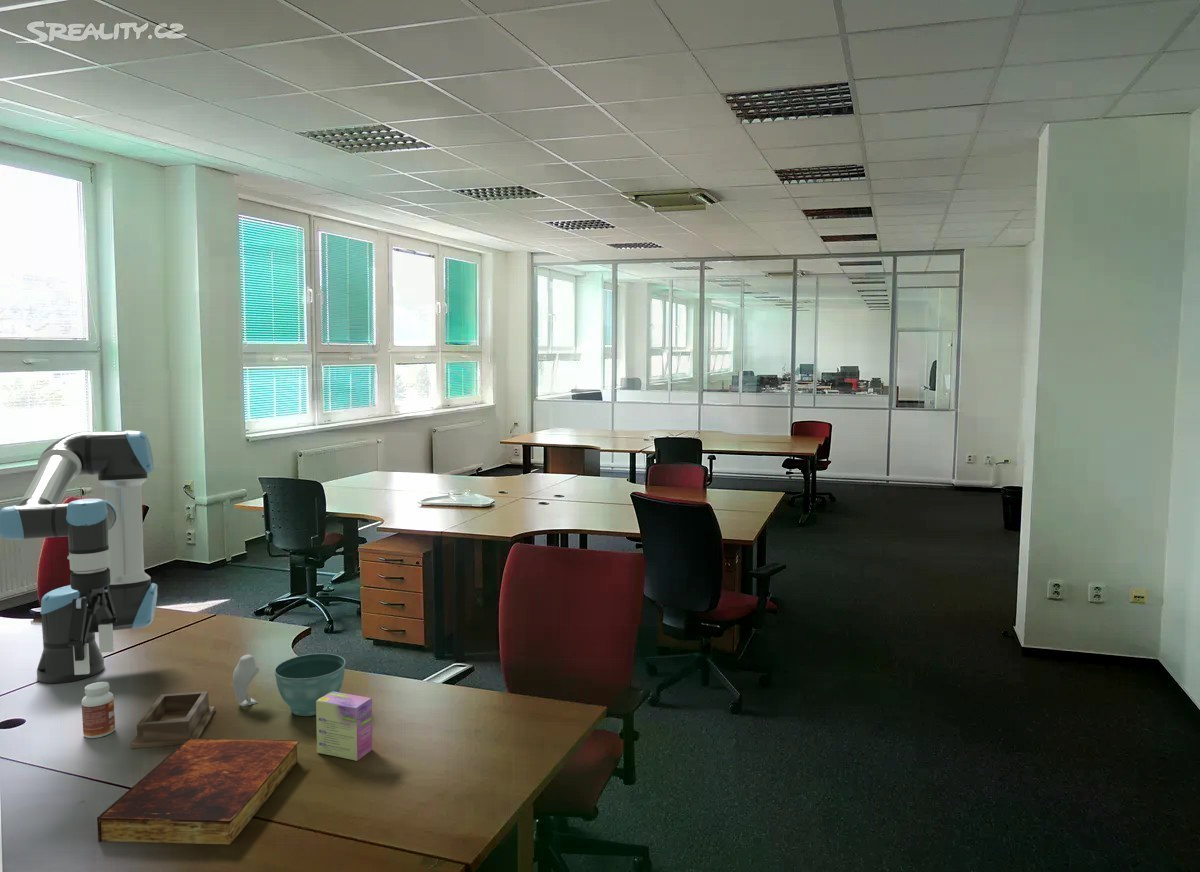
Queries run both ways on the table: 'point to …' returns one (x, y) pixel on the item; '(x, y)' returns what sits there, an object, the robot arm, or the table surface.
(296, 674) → the teal bowl
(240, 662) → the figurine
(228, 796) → the book
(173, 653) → the table surface
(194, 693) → the wooden tray
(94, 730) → the pill bottle
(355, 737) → the box
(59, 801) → the table surface
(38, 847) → the table surface
